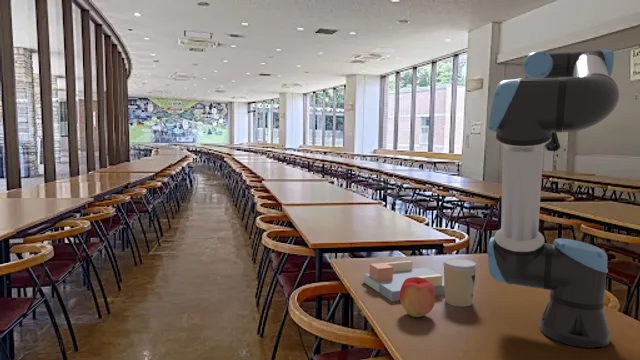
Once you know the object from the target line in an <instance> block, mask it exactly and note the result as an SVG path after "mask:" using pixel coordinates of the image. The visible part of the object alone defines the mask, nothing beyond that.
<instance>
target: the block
mask: <svg viewBox="0 0 640 360" xmlns="http://www.w3.org/2000/svg"><path fill="white" fill-rule="evenodd" d="M386 263H387V262H378V263H369V272H368V273H369V276H370V277H372V278H373V279H375V280H377V281H383V280H393V267H392V266H390V265H388V264H386Z"/></svg>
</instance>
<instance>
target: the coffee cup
mask: <svg viewBox="0 0 640 360" xmlns="http://www.w3.org/2000/svg"><path fill="white" fill-rule="evenodd" d="M442 264H443V265H442V266H443V276H444V288H445V295H444V302H445V303H447V304H449V305H450V306H455V307H461V308H462V307H469V306H472V304H473V300H474V291H475V281H476V272H477V267H478V266H477V263H476V262H474V260H473V261H472V260H469V259H467V258H460V257H459V258H454V257H453V258H452V257H451V258H447V259H444V262H443V263H442Z"/></svg>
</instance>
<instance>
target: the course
mask: <svg viewBox="0 0 640 360" xmlns="http://www.w3.org/2000/svg"><path fill="white" fill-rule="evenodd" d="M385 263H386V264H388V265H390V266H392V267H393V280H383V281H377V280H375V279H373V278H372V277H370V276H369V273H370V272H368V273H363V275H362V276H363V278H362V279H363V281H362V283H364V284H366V285H367V286H368V287H370V288H371V289H373V290H374V291H375V292H376V293H379V294H380V295H382V296H383V297H384V298H387V299H388V300H389V301H391V302H399V300H400V290H401V287H402V284H403V282H404V281H405V280H406V279H407V278H411V277H420V278H424V279H426V280H427V281H429V282H430V283H431V284H432V285H433V287H434V290H435V297H437V296H445V288H444V275H443V274H439V273H437V272H436V271H433V270H431V269H428V268H427V267H419V268H413V261H412V260H404V261H403V260H402V261H393V262H392V261H391V262H385Z"/></svg>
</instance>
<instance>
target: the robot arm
mask: <svg viewBox="0 0 640 360" xmlns="http://www.w3.org/2000/svg"><path fill="white" fill-rule="evenodd" d="M614 56H615V55H614V51H613V50H610V49H597V50H585V51H567V52H563V51H562V52H550V51H540V50H539V51H538V50H537V51H534V52H531V53H528V54H527V56H526V58H525V59H524V62H523V66H522V67H523V69H522V70H523V73H524V75H525V77H524V78H523V77H522V78H521V77H519V78H516V79H515V78H514V79H504V80H501V81H500V82H499V83H498V84H497V85H496V88H495V90H494V93H493V98H492V101H491V107H490V112H489V118H488V130H489V131H490V132H492V133H495V139H496V141H497V142H498V143H499V144H500V145H502V169H501V170H502V171H501V174H502V175H501V177H502V178H501V215H500V216H501V219H500V223H501V224H500V228H499V229H498V230H496V232H495V234H494V236H492V237H490V238H489V240H488V245H487V265H488V269H489V274H490V277H491V278H492V279H494V280H495V282H500V283H505V284H506V285H515V286H516V285H517V286H523V287H528V288H534V289H541V290H546V291H550V293H549V294H550V295H549V301H548V303H547V305H546V307H545V310H544V311H543V314H542V316H541V317H540V321H539V330H540V331H541V333H542V334H544V335H545V336H547V337H549V338H550V339H552V340H554V341H557V342H560V343H562V344H566V345H569V346H573V347H577V346H579V347H578V348H584V347H588V348H587V349H596V348H595V347H602V348H605V347H607V346H608V345H609V344H610V338H611V337H610V336H611V332H610V330H609V327H608V323H607V321H608V320H607V318H606V315H605V314H606V313H605V311H604V310H605V308H604V306H605V295H606V284H607V273H608V272H609V269H608V254H607V253H606V252H605V251H604V250H603V249H602V248H600V247H598V246H595V245H593V244H591V243H587V242H583V241H579V240H575V239H571V238H555V239H554V240H553V243H547V242H546V243H545V237H544V235H543V234H542V233H541V232H540V231H539V226H540V223H539V222H540V208H541V192H542V177H543V175H542V174H543V172H553V168H554V167H553V166H554V165H553V164H554V159H555V153H556V152H557V151H558V150H560V148H561V143H560V141H559V138H558V133H573V132H579V131H582V130H586V129H589V128H591V127H593V126H596V125H597V124H599V123H601V122H602V121H604V120H605V119H607V117H609V116H610V115H611V114H612V112H613V111H614V110H615V109H616V107H617V105H618V102H619V98H620V90H619V87H618V84H617V83H616V81H615V80H614V79H613V77H611V76H612V74H613V70H614V62H615V61H614V60H615V57H614ZM544 147H545V149H546V150H544ZM606 345H607V346H606ZM604 346H605V347H604ZM590 347H592V348H590ZM593 347H594V348H593Z"/></svg>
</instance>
